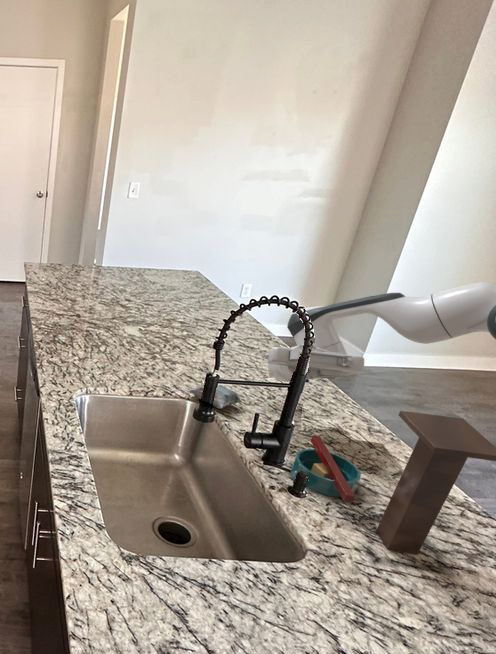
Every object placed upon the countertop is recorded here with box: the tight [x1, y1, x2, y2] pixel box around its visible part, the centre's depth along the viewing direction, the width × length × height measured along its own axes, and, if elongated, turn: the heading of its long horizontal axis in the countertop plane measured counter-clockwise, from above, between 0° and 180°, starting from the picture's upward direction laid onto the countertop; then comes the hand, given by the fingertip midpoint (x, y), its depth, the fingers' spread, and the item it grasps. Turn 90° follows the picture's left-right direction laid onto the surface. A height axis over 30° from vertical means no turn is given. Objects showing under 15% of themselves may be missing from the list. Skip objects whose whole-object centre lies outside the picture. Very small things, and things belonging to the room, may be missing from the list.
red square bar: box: [310, 434, 356, 504], centre depth 115 cm, size 2×22×2 cm, turn 166°
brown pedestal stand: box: [375, 410, 496, 556], centre depth 96 cm, size 12×12×26 cm
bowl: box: [290, 448, 362, 498], centre depth 117 cm, size 12×12×5 cm
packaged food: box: [186, 383, 243, 410], centre depth 149 cm, size 9×12×5 cm
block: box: [311, 463, 332, 480], centre depth 118 cm, size 4×4×4 cm
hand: (328, 357), depth 123 cm, fingers open, 8 cm apart
